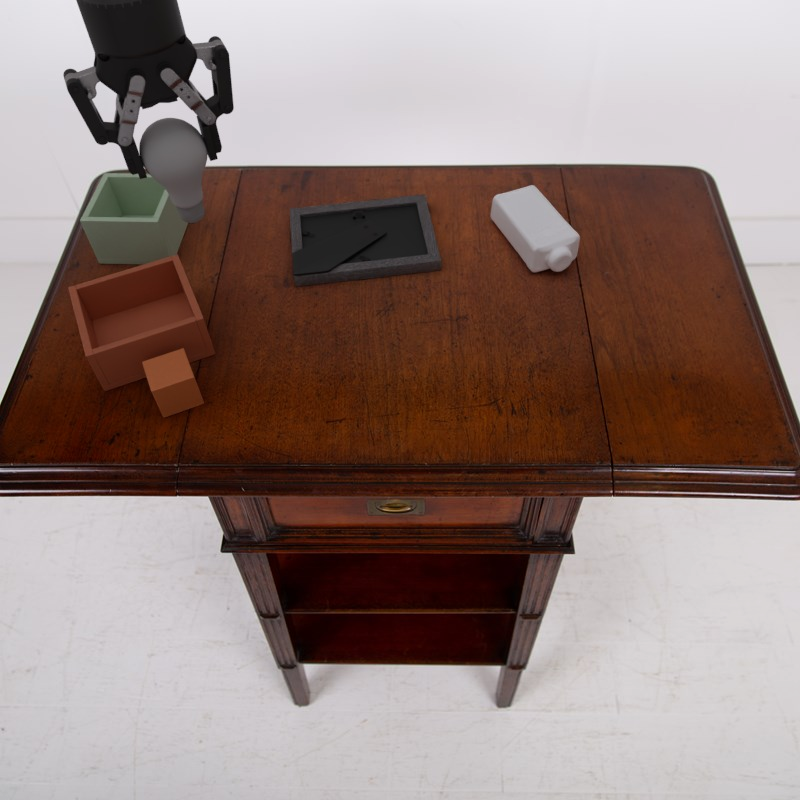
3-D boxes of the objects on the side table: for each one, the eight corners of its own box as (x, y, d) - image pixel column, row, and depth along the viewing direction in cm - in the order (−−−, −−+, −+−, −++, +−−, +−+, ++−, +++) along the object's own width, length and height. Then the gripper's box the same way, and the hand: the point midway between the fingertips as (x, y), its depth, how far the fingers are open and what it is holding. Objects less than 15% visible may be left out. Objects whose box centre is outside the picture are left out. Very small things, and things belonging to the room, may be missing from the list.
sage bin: (172, 265, 95) (157, 221, 90) (98, 263, 96) (79, 220, 91) (190, 217, 101) (177, 173, 96) (120, 215, 102) (103, 172, 97)
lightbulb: (192, 248, 74) (160, 150, 66) (151, 225, 77) (116, 127, 68) (237, 216, 77) (212, 118, 69) (196, 194, 80) (168, 97, 71)
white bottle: (536, 284, 91) (540, 257, 88) (489, 221, 99) (491, 194, 95) (583, 269, 93) (589, 242, 89) (533, 209, 100) (537, 182, 97)
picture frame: (295, 286, 92) (441, 270, 93) (293, 274, 91) (441, 257, 92) (291, 218, 101) (425, 203, 102) (288, 205, 99) (425, 191, 100)
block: (163, 418, 80) (151, 391, 77) (154, 388, 83) (141, 361, 79) (204, 403, 81) (194, 376, 78) (193, 375, 84) (183, 347, 80)
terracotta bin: (104, 391, 83) (85, 356, 78) (86, 323, 90) (67, 287, 85) (215, 354, 86) (203, 318, 81) (190, 290, 92) (177, 253, 88)
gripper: (31, 18, 55) (108, 207, 68) (223, -22, 58) (261, 166, 71) (20, -22, 59) (95, 163, 72) (199, -58, 62) (240, 126, 76)
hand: (177, 164), depth 72 cm, fingers closed on lightbulb, 6 cm apart
